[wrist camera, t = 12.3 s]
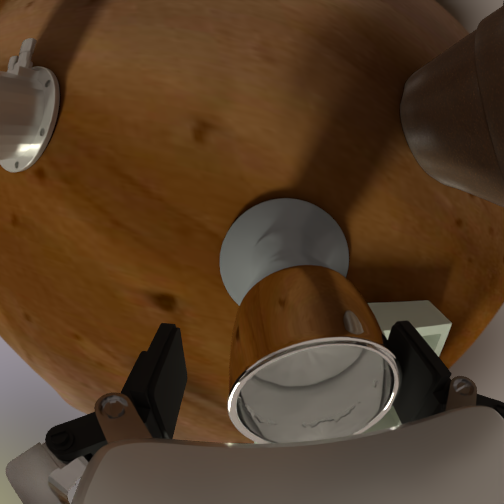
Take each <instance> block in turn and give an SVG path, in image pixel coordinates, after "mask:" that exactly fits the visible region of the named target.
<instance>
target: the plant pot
mask: <svg viewBox="0 0 504 504" xmlns="http://www.w3.org/2000/svg"><path fill="white" fill-rule="evenodd" d="M400 116H401V123H402V128H403V131H404V134H405V138H406V140H407V143H408V145H409V147H410V149H411V152H412V153H413V155H414V157H415V159H416V160H417V162H418V163H419V165H420V166H421V167H422V169H423V170H424V171H425V172H426V173H427V174H428V175H430V176H431V177H433V178H434V179H436V180H437V181H439V182H440V183H442V184H444V185H447V186H450V187H453V188H457V189H459V190H462V191H465V192H467V193H470V194H473V195H475V196H478V197H480V198H483V199H485V200H488V201H490V202H492V203H495V204H497V205H499V206H501V207H504V3H503V6H502V7H501V8H499V9H498V10H496V11H495V12H493V13H492V14H490V15H489V16H487V17H486V18H484V19H483V20H482V21H481V22H480V23H479V25H478V28H477V30H475V31H474V32H472V33H471V34H469V35H468V36H466V37H465V38H463V39H462V40H460V41H459V42H458V43H456V44H455V45H453V46H452V47H450V48H449V49H447V50H446V51H445V52H443V53H442V54H440V55H439V56H437V57H436V58H435V59H433V60H432V61H430V62H429V63H427V64H426V65H425V66H423V67H422V68H420V69H419V70H417V71H416V72H414V73H413V74H412V75H411V76H410V77H409V79H408V80H407V81H406V83H405V85H404V92H403V96H402V100H401V103H400Z"/></svg>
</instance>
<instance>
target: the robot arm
mask: <svg viewBox="0 0 504 504" xmlns="http://www.w3.org/2000/svg"><path fill="white" fill-rule="evenodd" d="M36 42H37V41H36V39H34V38H29V39H26V40H24V41H23V42H22V46H21V49H20V53H19V56H13V57H11V58H10V61H9V65H8V71H7V72H3V71H0V164H1V166H2V167H3V168H4V169H5V170H7V171H9V172H19V171H24V170H26V169H28V168H29V167H31V166H32V165H33V164H34V163H35V162H36V161H37V160H38V158H39V157H40V156H41V154H42V153H43V151H44V150H45V148H46V146H47V144H48V142H49V140H50V138H51V135H52V132H53V130H54V127H55V123H56V119H57V116H58V109H59V100H60V91H59V84H58V80H57V78H56V76H55V74H54V73H53V72H52V71H51V70H50V69H47V68H45V67H40V66H36V67H32V66H33V63H32V62H31V58H32V55H33V53H34V49H35V45H36ZM388 342H389V345H390V347H391V349H392V351H393V353H394V355H395V357H396V358H397V359H398V361H399V363H400V366H401V370H402V385H401V389H400V392H399V395H398V397H397V399H396V401H395V403H394V404H393V407H394V409H395V411H396V413H397V415H398V417H399V419H400V421H401V423H402V424H401V425H398V426H394V427H390V428H385V429H381V430H376V431H372V432H367V433H362V434H356V435H351V436H344V437H338V438H331V439H323V440H314V441H303V442H289V443H266V444H240V443H214V442H199V441H188V440H175V439H172V438H173V434H174V430H175V426H176V422H177V418H178V413H179V409H180V406H181V402H182V398H183V394H184V390H185V386H186V382H187V370H186V365H185V358H184V352H183V346H182V339H181V332H180V328H176V326H175V324H167V323H161V325H160V327H159V329H158V331H157V333H156V335H155V337H154V339H153V341H152V343H151V345H150V347H149V349H148V351H142V352H141V353H140V355H139V357H138V359H137V361H136V363H135V365H134V367H133V369H132V371H131V373H130V375H129V377H128V379H127V381H126V383H125V385H124V387H123V389H122V391H121V393H108V394H105V395H103V396H101V397H100V398H99V399H98V400H97V402H96V403H95V407H94V409H95V412H93V413H90V414H88V415H85V416H82V417H80V418H77V419H75V420H71V421H68V422H66V423H63V424H60V425H57V426H55V427H53V428H51V429H50V430H49V431H48V433H47V434H46V439H45V441H46V442H45V443H43V444H42V445H41V443H37V444H36V445H34V446H33V447H32V448H30V449H29V450H27V451H25V452H24V453H22V454H21V455H19V456H18V457H16V458H15V459H13V460H12V461H10V462H9V463H8V465H7V467H6V475H7V477H8V480H9V482H10V483H11V485H12V487H13V488H14V490H15V492H16V493H17V494H18V496H19V498H20V499H21V501H22V502H23V504H70V503H69V501H68V498H67V495H68V491H69V490H70V489H71V488H72V487H73V486H74V485H76V483H75V481H77V480H78V479H79V478H81V479H80V481H79V484H78V486H77V489H76V492H75V495H74V497H73V500H72V503H71V504H504V403H503V402H501V401H498V400H494V399H491V398H488V397H485V396H482V395H479V394H477V387H476V385H475V383H474V382H473V381H472V380H470V379H469V378H467V377H464V376H457V377H455V378H453V379H452V380H451V379H450V376H451V372H450V371H449V370H448V368H447V367H446V366H445V365H444V363H443V362H442V361H441V359H440V358H439V357H438V356H437V354H436V353H435V352H434V351H433V349H432V348H431V347H430V346H429V344H428V343H427V342H426V341H425V340H424V338H423V337H422V336H421V335H420V334H419V332H418V331H417V330H416V329H415V328H414V326H413V325H412V324H411V323H410V322H409V321H408V320H405V321H397V322H396V323H395V325H393V326H392V328H391V331H390V334H389V337H388Z"/></svg>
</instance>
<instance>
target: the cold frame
mask: <svg viewBox="0 0 504 504" xmlns="http://www.w3.org/2000/svg"><path fill="white" fill-rule="evenodd" d="M368 305H369V306H370V308H371V310H372V311H373V313H374V314H375V316H376V318H377V320H378V322H379V324H380V326H381V328H382V330H383V332H384V334H385V336H386V338H387V340H388V337H389V334H390V331H391V328H392V326H393V325H395V323H396V322H397V321H405V320H408V321H409V322H410V323H411V324H412V325H413V326H414V328H415V329H416V330H417V331H418V332H419V334H420V335H421V336H422V337H423V338H424V340H425V341H426V342H427V343H428V344H429V346H430V347H431V348H432V349H433V351H434V352H435V353H436V354H437V356H438V357H439V355H440V353H441V351H442V348H443V346H444V343H445V341H446V338H447V336H448V333H449V330H450V328H451V325H452V323H451V322H450V321H449V320H448V319H447V318H446V317H445V316H444V315H443V314H442V313H441V312H440V311H439V310H438V309H437V308H436V307H435V306H434V305H433V304H432V303H431V302H429V301H428V300H424V301H405V302H382V303H368ZM401 424H402V423H401V421H400V419H399V417H398V415H397V413H396V411H395V409H394V407H393V406H392V407H391V408H390V410H389V411H388V412H387V413H386V414H385V415H384V417H383V418H381V419H380V420H379V421H378V422H377V423H376V424H375V425H373V426H372V427H371V428H369V429H368V430H366V431H365V432H363V433H367V432H372V431H376V430H381V429H385V428H390V427H394V426H398V425H401ZM361 434H362V433H361ZM254 444H259V443H257V442H255V443H254Z"/></svg>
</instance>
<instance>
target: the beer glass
mask: <svg viewBox="0 0 504 504" xmlns="http://www.w3.org/2000/svg"><path fill="white" fill-rule="evenodd" d="M250 271H251V275H252V278H253V280H252V281H251V283H250V285H249V287H248V289H247V291H246V292H245V294H244V297H243V299H242V301H241V304H240V306H239V309H238V311H237V315H236V319H235V323H234V328H233V332H232V340H231V348H230V363H229V395H228V400H227V409H228V414H229V417H230V419H231V421H232V423H233V424H234V426H235V427H236V428H237V429H238V430H239V431H240V432H241V433H242V434H243V435H245V436H246V437H248V438H249V439H251V440H253V441H255V442H257V443H259V444H266V443H289V442H303V441H314V440H323V439H331V438H338V437H344V436H351V435H356V434H361V433H363V432H365V431H366V430H368V429H369V428H371V427H372V426H373V425H375V424H376V423H377V422H378V421H379V420H380V419H381V418H383V417H384V415H385V414H386V413H387V412H388V411H389V410H390V408H391V407H392V406H393V404H394V403H395V401H396V399H397V397H398V395H399V392H400V389H401V385H402V370H401V366H400V363H399V361H398V359H397V358H396V357H395V355H394V353H393V351H392V349H391V347H390V345H389V342H388V340H387V338H386V336H385V334H384V332H383V330H382V328H381V326H380V324H379V322H378V320H377V318H376V316H375V314H374V313H373V311H372V310H371V308H370V306H369V305H368V303H367V302H366V300H365V299H364V297H363V296H362V295H361V294H360V292H359V291H358V290H357V289H356V287H355V286H354V285H353V284H352V283H351V282H350V281H349V280H348V279H347V278H345V277H344V276H343V275H342V274H341V273H340V272H338V271H337V270H336V269H334V268H333V267H331V266H330V265H328V264H327V263H325V262H324V259H323V255H322V252H321V249H320V247H319V246H318V244H317V243H316V241H315V240H314V239H313V238H312V237H310V236H309V235H307V234H306V233H304V232H301V231H298V230H294V229H282V230H277V231H274V232H272V233H270V234H268V235H266V236H265V237H264V238H262V239H261V240H260V241H259V243H258V244H257V245H256V247H255V248H254V250H253V252H252V255H251V260H250Z"/></svg>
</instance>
